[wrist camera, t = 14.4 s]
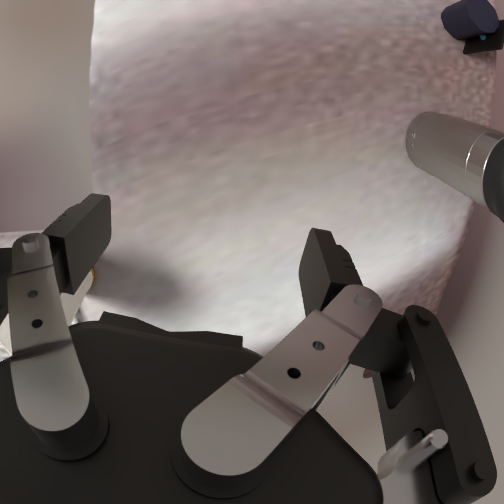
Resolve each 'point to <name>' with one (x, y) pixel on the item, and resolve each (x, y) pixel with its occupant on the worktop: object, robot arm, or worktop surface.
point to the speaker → (474, 25)
